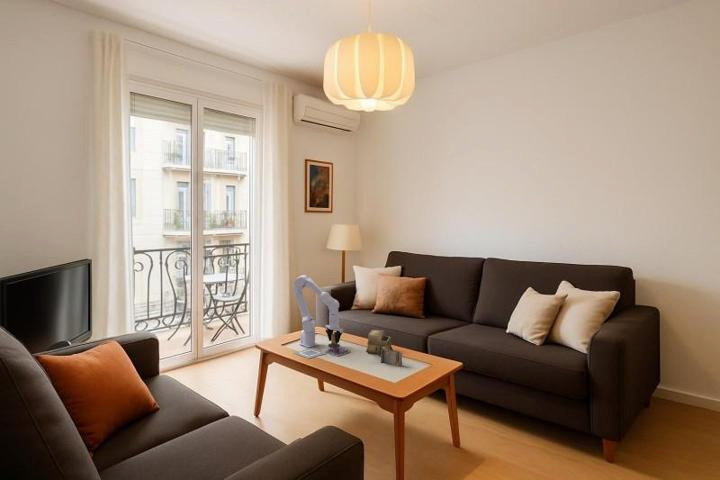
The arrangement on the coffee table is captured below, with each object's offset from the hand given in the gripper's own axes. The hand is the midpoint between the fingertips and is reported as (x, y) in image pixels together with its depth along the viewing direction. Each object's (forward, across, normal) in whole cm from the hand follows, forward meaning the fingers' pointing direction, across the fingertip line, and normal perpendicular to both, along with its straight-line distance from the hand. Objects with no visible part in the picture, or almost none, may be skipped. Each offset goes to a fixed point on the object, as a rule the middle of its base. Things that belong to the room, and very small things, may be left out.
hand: (334, 341), depth 261 cm
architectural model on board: (+4, -45, -2) cm, 45 cm away
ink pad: (+3, -10, +6) cm, 12 cm away
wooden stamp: (+3, 0, 0) cm, 3 cm away
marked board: (+3, 0, +19) cm, 19 cm away
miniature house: (+3, -27, -12) cm, 30 cm away
